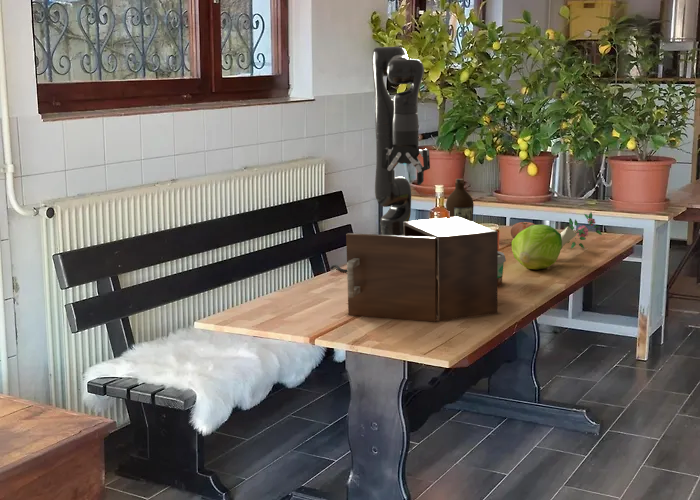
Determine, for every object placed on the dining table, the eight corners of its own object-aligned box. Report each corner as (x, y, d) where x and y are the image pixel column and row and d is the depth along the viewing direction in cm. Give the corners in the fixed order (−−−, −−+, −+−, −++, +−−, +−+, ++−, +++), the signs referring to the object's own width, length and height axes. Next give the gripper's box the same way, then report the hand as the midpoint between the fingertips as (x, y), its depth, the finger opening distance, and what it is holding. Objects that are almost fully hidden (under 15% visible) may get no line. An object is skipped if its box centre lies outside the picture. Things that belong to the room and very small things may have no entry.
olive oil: (442, 241, 368) (442, 178, 363) (468, 239, 370) (467, 176, 365) (451, 246, 358) (451, 181, 353) (477, 244, 360) (477, 180, 355)
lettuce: (503, 278, 316) (496, 235, 313) (530, 261, 331) (524, 219, 328) (548, 279, 306) (542, 234, 302) (573, 261, 321) (568, 218, 317)
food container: (504, 289, 292) (505, 258, 290) (484, 289, 294) (485, 258, 292) (506, 280, 304) (506, 250, 302) (487, 279, 305) (487, 249, 303)
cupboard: (439, 321, 261) (438, 236, 256) (404, 298, 285) (403, 221, 280) (497, 313, 266) (497, 231, 261) (458, 292, 291) (458, 216, 286)
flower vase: (541, 279, 334) (577, 240, 360) (572, 273, 326) (607, 234, 352) (530, 249, 332) (567, 213, 358) (560, 243, 324) (596, 206, 350)
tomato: (541, 244, 357) (541, 223, 356) (512, 245, 358) (513, 224, 356) (536, 238, 368) (536, 218, 366) (508, 239, 368) (508, 219, 366)
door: (429, 327, 255) (428, 242, 250) (340, 320, 264) (338, 238, 259) (436, 320, 261) (436, 237, 256) (350, 313, 271) (347, 233, 266)
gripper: (378, 129, 272) (378, 184, 276) (424, 130, 267) (424, 186, 271) (387, 127, 279) (387, 181, 283) (432, 128, 274) (432, 183, 277)
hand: (405, 183), depth 277 cm, fingers open, 8 cm apart
